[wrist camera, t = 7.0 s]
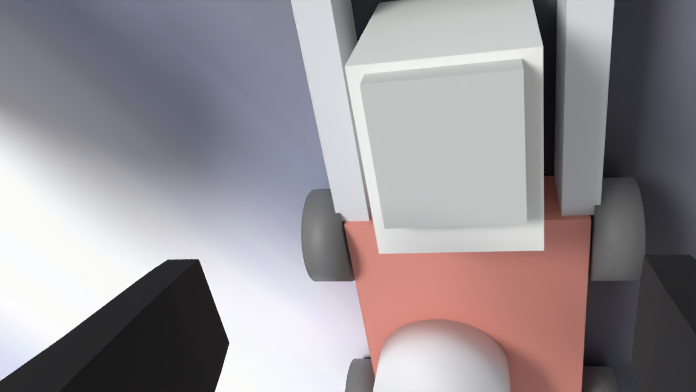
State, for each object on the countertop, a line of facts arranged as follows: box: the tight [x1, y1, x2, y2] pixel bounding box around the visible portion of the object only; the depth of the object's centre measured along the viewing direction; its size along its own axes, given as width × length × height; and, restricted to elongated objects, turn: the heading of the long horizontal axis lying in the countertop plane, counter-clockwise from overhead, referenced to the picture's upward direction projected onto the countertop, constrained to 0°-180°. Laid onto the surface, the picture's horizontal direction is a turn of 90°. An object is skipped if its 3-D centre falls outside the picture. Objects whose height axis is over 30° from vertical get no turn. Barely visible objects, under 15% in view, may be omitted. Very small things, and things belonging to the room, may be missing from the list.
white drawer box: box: [345, 0, 544, 254], centre depth 15 cm, size 5×4×6 cm
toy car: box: [291, 0, 646, 392], centre depth 18 cm, size 18×10×4 cm, turn 10°
